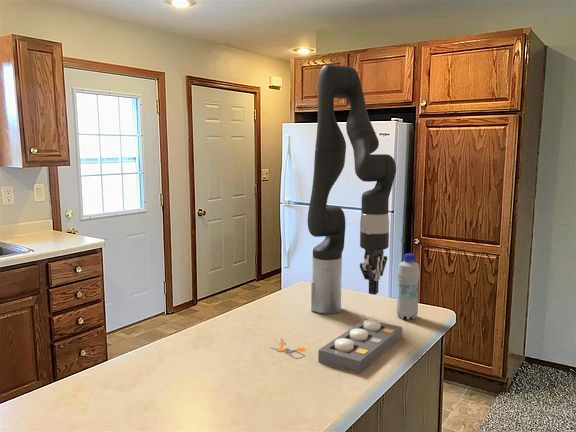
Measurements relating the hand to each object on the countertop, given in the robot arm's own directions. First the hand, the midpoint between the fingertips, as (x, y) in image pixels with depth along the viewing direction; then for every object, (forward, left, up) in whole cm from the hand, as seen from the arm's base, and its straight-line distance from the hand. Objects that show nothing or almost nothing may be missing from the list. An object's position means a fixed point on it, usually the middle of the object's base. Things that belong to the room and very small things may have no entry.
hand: (373, 293), depth 129 cm
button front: (-7, -14, -10) cm, 19 cm away
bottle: (+11, +18, -13) cm, 25 cm away
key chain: (-21, -11, -13) cm, 27 cm away
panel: (-2, -8, -13) cm, 15 cm away
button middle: (-4, -7, -10) cm, 13 cm away
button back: (0, 0, -10) cm, 10 cm away
